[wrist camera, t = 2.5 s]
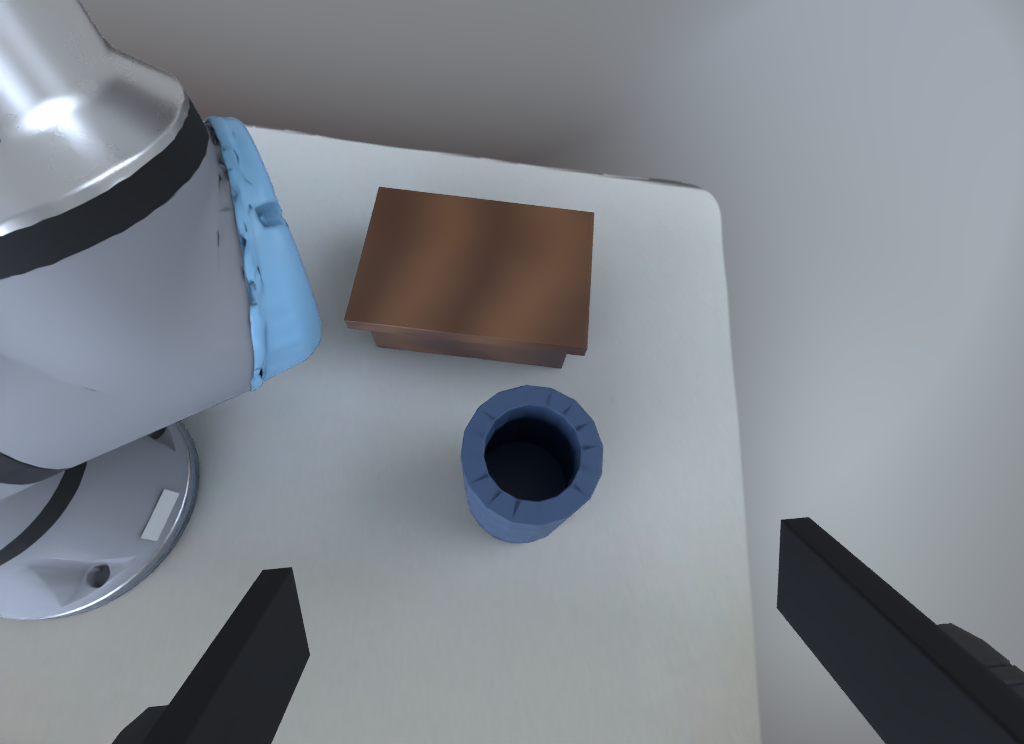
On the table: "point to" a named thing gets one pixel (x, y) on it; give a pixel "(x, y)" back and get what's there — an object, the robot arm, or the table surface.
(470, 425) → the jar
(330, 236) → the table surface
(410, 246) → the overhanging wooden cap box
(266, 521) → the table surface
